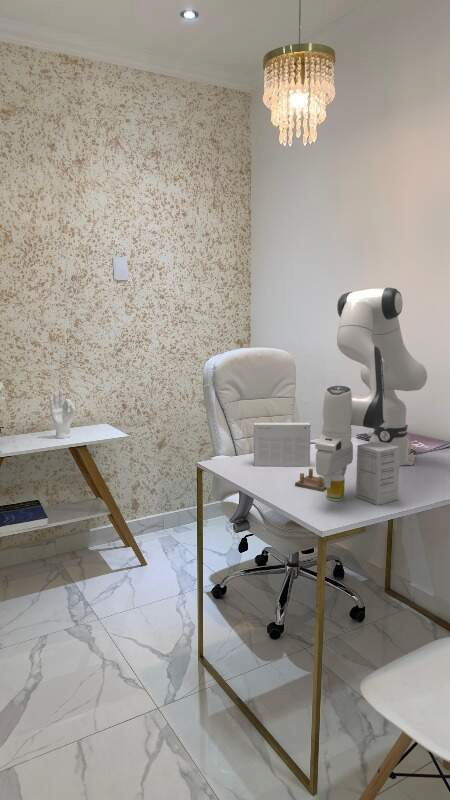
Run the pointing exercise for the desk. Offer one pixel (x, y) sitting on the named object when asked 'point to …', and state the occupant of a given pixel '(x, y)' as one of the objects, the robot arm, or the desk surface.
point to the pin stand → (311, 482)
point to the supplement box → (377, 472)
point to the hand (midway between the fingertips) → (334, 483)
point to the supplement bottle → (336, 487)
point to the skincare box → (282, 444)
